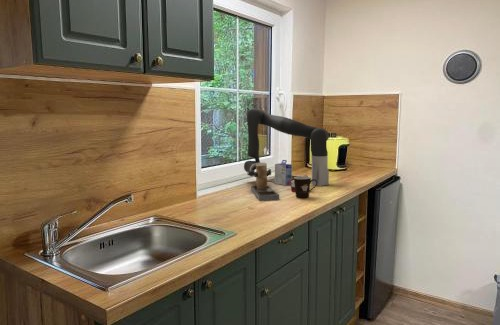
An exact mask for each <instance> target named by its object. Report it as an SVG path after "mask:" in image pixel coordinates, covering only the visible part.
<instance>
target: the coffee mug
mask: <svg viewBox="0 0 500 325" xmlns="http://www.w3.org/2000/svg"><path fill="white" fill-rule="evenodd" d="M307 176H308V175H306V176H305V175H301V176H294V177H293V182H294V184H295V192H294V193H295V198H296V199H302V200H303V199H308V198H310V192H311V191H312V190H314V189H315V188H316V187H318V186H317V180H315V179H313V180H314V181H316V185H313V187H312V188H311V184H312V181H313V180H312V176H308V177H307Z"/></svg>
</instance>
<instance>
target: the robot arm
mask: <svg viewBox="0 0 500 325" xmlns="http://www.w3.org/2000/svg"><path fill="white" fill-rule="evenodd" d="M246 123H247V134H248V135H247V156H248V157H250V158H253V159H254V160H246V161H245V162H244V164H243V169H244V171H245V172H246V173H247V174H246V175H247V176H250V177H254V178H256V177H258V173H257V172H256V163H261V160H260V140H259V132H258V127H259V125H262V126H267V127H270V128H272V129H274V130H276V131H278V132H280V133H283V134H286V135H291V136H295V137H296V136H297V137H303V138H306V139H309V140H310V152H311V180H313V179H315V180H317V186H316V187H318V186H319V187H325V186H328V185H329V182H330V180H329V179H330V177H329V174H330V173H329V172H330V170H329V168H328V165H329V164H328V158H329V157H328V154H329V153H328V148H327V141H328V140H329V138H330V136H329V132H328V130H326V128H323V127H316V126H311V125H309V124H306V123H303V122H300V121H298V120H295V119H292V118H288V117H286V116H280V115H274V114H271V113H268V112H266V111H263V110H261V109H259V108H253V107H252V108H250V109H249V110H248V111H247V113H246ZM271 175H272V169H270V168H269V169H267V177H269V176H271ZM311 185H312V186H315V185H316V181H314V180H313V181H312V182H311Z"/></svg>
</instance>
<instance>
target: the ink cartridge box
mask: <svg viewBox="0 0 500 325" xmlns="http://www.w3.org/2000/svg"><path fill="white" fill-rule="evenodd" d="M292 165H293V164H289V163H287V159H282V161H281V163H275V164H274V184H277V185H281V186H282V185H283V186H291V184H292V183H293V181H292V180H293V179H292V178H293V174H292V172H293V170H292V169H293V168H292Z"/></svg>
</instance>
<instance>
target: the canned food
mask: <svg viewBox="0 0 500 325" xmlns="http://www.w3.org/2000/svg"><path fill="white" fill-rule="evenodd" d="M304 176H307V177H309V176H308V175H307V174H306V175H304ZM290 188H291V189H290V191H291V192H292V193H295V184H294V181H292V184H291V185H290Z"/></svg>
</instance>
